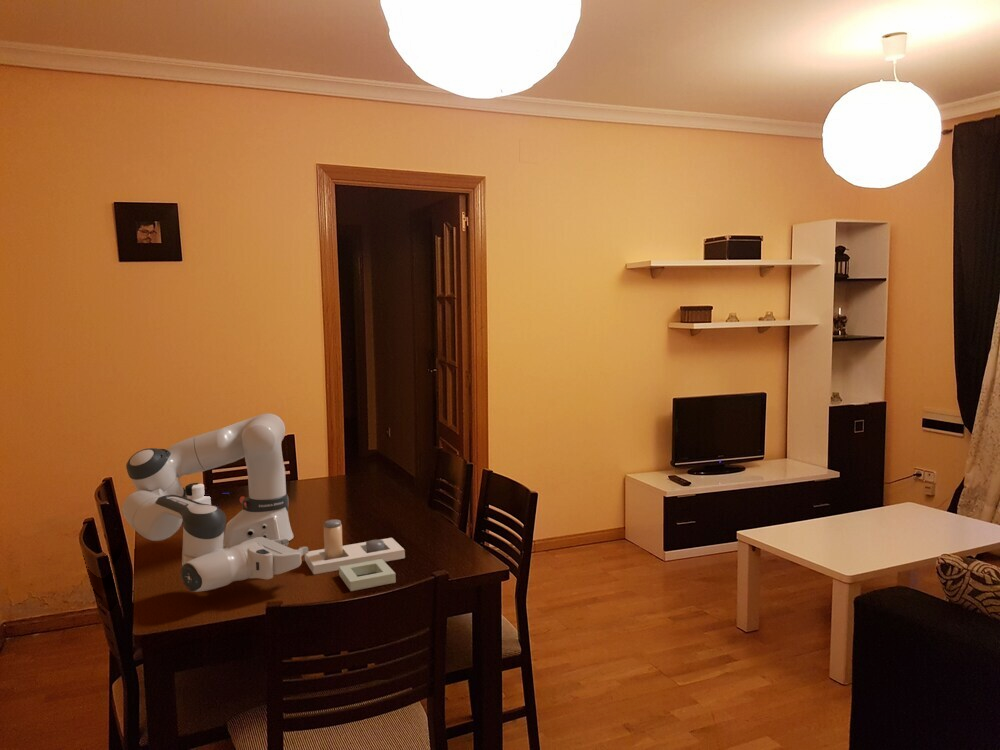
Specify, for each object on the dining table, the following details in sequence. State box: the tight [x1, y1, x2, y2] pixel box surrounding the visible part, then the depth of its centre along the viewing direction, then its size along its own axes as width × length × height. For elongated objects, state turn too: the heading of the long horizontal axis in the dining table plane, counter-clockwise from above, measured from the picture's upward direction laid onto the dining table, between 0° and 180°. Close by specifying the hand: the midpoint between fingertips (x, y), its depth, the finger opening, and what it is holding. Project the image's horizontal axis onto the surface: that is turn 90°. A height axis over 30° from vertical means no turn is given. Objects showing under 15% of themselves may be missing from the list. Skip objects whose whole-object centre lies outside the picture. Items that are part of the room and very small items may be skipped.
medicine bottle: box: [184, 482, 212, 505], centre depth 248 cm, size 7×7×12 cm
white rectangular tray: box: [304, 537, 406, 575], centre depth 206 cm, size 26×12×4 cm, turn 116°
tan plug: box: [323, 519, 343, 561], centre depth 203 cm, size 5×5×12 cm
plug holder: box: [338, 559, 397, 592], centre depth 192 cm, size 12×12×2 cm
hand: (296, 545), depth 194 cm, fingers open, 8 cm apart
